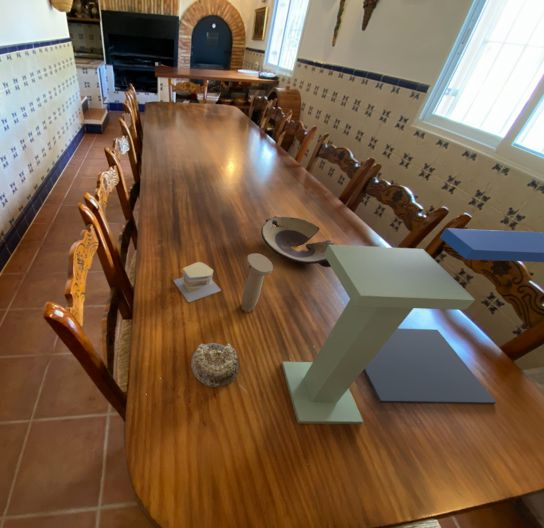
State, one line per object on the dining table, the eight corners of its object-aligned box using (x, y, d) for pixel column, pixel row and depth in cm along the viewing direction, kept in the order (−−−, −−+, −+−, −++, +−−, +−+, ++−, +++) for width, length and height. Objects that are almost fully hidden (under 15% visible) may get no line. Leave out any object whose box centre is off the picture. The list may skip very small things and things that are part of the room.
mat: (436, 330, 73) (437, 329, 73) (494, 404, 59) (496, 402, 59) (342, 328, 72) (343, 326, 71) (379, 402, 58) (381, 400, 57)
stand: (335, 365, 64) (418, 244, 43) (361, 424, 54) (482, 306, 34) (271, 363, 63) (325, 240, 42) (286, 423, 53) (364, 302, 33)
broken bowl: (306, 226, 107) (312, 208, 102) (356, 283, 85) (368, 262, 80) (247, 229, 103) (252, 210, 98) (284, 290, 81) (292, 268, 76)
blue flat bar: (597, 244, 39) (607, 235, 38) (637, 265, 35) (650, 256, 35) (439, 237, 38) (446, 228, 37) (465, 259, 34) (473, 249, 33)
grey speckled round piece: (243, 386, 59) (249, 373, 55) (194, 392, 57) (196, 379, 54) (232, 341, 66) (236, 328, 62) (187, 346, 64) (189, 332, 61)
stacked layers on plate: (188, 302, 75) (189, 286, 71) (172, 280, 80) (173, 264, 77) (221, 290, 79) (224, 275, 75) (204, 270, 84) (206, 255, 81)
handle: (249, 297, 78) (261, 251, 68) (262, 315, 73) (277, 269, 63) (232, 301, 76) (243, 255, 66) (245, 320, 71) (258, 273, 62)
